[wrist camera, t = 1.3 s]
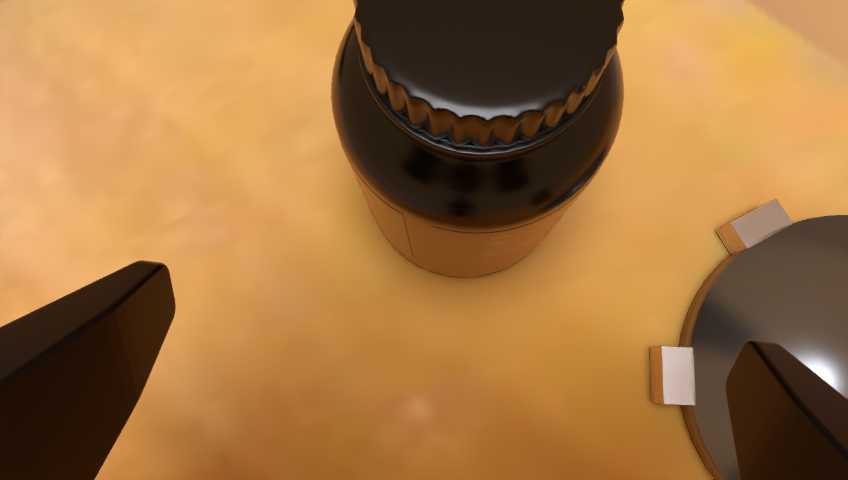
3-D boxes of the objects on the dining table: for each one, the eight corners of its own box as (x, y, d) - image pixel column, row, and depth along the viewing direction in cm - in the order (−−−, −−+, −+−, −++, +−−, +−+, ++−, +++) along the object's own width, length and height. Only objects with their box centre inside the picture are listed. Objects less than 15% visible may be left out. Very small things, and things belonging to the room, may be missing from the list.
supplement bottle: (564, 109, 23) (696, -159, 11) (549, 291, 22) (679, 203, 10) (383, 89, 23) (325, -190, 12) (357, 267, 22) (261, 156, 10)
